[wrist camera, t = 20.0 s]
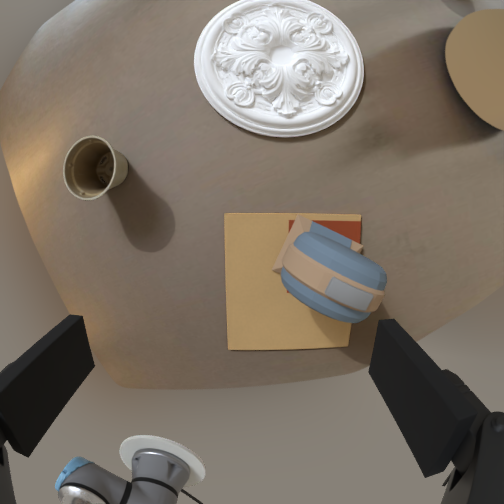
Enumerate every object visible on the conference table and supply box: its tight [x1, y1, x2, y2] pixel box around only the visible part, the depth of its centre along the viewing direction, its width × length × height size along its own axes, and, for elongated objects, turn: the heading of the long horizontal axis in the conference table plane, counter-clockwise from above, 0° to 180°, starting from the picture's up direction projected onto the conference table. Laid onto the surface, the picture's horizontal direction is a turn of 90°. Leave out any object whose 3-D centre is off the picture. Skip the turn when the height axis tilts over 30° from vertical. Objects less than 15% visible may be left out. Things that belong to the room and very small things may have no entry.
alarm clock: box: [272, 215, 387, 323], centre depth 40 cm, size 14×10×18 cm
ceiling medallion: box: [194, 0, 364, 137], centre depth 40 cm, size 28×28×3 cm
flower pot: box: [63, 136, 128, 201], centre depth 41 cm, size 9×9×9 cm
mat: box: [224, 213, 361, 350], centre depth 50 cm, size 24×22×1 cm
